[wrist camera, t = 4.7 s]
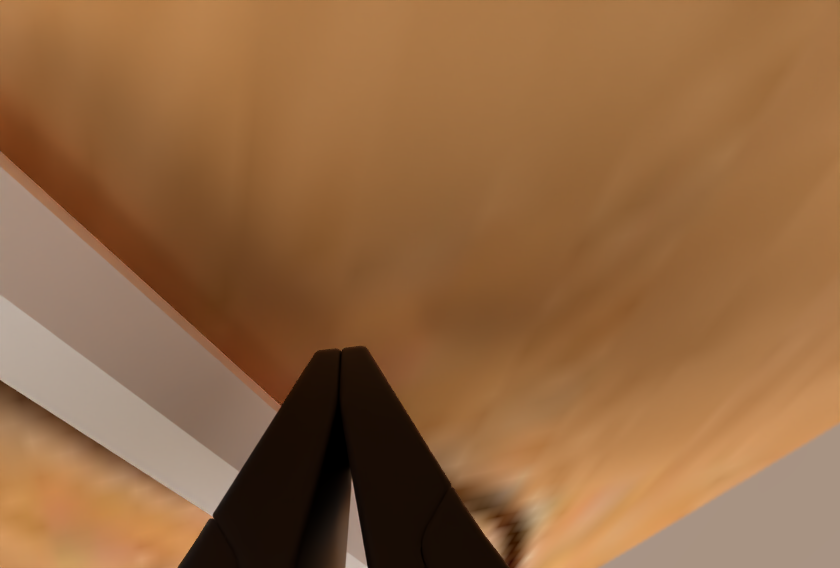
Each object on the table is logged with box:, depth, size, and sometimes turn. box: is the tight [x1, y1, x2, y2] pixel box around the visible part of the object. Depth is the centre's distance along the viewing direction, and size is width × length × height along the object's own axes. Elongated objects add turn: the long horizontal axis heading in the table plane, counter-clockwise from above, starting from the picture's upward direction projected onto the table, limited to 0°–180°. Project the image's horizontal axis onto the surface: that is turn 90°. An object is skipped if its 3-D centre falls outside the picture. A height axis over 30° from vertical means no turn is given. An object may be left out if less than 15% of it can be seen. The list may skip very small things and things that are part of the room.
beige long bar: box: [0, 151, 368, 568], centre depth 9 cm, size 3×2×16 cm
